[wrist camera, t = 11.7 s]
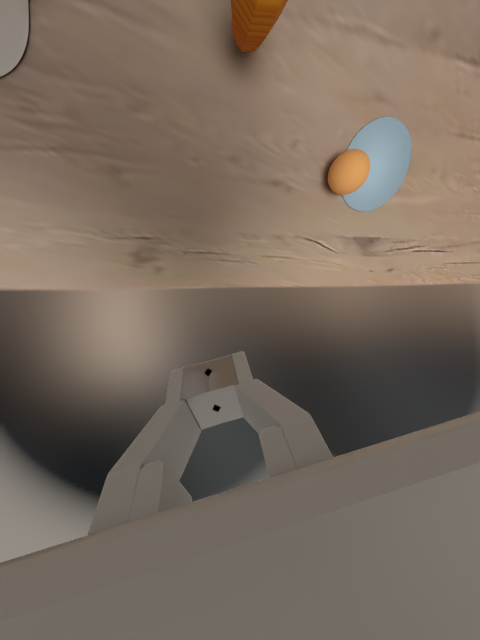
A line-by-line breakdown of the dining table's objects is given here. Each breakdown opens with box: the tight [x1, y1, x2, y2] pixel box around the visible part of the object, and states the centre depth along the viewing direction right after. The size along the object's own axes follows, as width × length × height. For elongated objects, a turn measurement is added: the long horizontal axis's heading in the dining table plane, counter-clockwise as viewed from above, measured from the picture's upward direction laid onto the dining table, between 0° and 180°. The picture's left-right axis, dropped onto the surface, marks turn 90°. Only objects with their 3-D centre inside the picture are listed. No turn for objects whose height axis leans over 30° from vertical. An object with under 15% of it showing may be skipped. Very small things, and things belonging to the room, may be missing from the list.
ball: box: [328, 149, 370, 195], centre depth 30 cm, size 5×5×5 cm
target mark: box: [342, 117, 412, 211], centre depth 32 cm, size 12×12×1 cm
